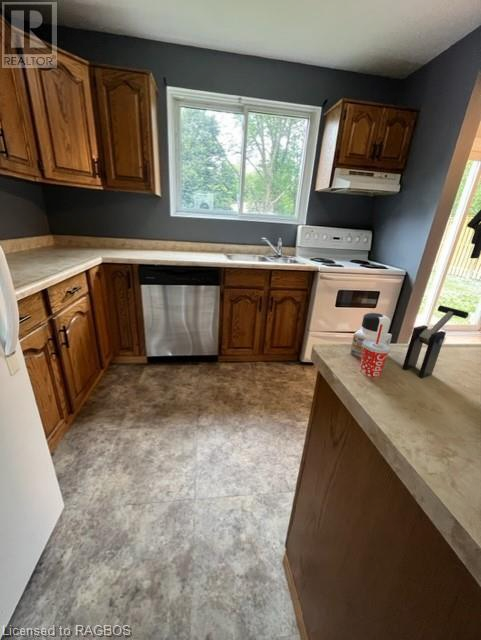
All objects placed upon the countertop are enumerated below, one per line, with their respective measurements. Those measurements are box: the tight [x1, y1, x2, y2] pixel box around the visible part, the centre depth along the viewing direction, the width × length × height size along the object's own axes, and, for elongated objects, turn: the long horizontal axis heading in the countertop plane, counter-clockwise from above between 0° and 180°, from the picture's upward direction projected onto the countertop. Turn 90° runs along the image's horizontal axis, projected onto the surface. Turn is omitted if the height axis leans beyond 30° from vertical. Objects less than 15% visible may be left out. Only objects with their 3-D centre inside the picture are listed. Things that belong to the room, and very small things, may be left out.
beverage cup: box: [359, 324, 392, 378], centre depth 65 cm, size 6×6×14 cm
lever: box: [419, 304, 469, 346], centre depth 66 cm, size 12×6×2 cm
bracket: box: [401, 324, 447, 380], centre depth 66 cm, size 12×9×13 cm
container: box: [349, 312, 393, 359], centre depth 74 cm, size 8×8×13 cm
